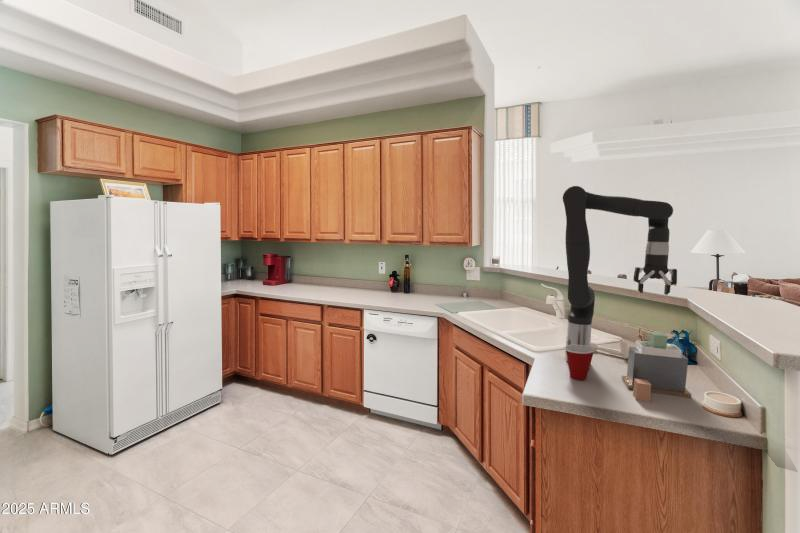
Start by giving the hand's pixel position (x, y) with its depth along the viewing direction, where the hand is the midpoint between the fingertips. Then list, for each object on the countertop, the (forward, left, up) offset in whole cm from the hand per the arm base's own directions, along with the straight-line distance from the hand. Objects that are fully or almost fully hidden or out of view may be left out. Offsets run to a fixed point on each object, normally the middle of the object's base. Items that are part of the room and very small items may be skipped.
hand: (653, 293), depth 149 cm
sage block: (-2, -19, -18) cm, 26 cm away
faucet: (-11, +16, -32) cm, 38 cm away
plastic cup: (-28, -19, -32) cm, 46 cm away
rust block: (-9, -31, -32) cm, 45 cm away
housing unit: (-2, -19, -32) cm, 37 cm away
